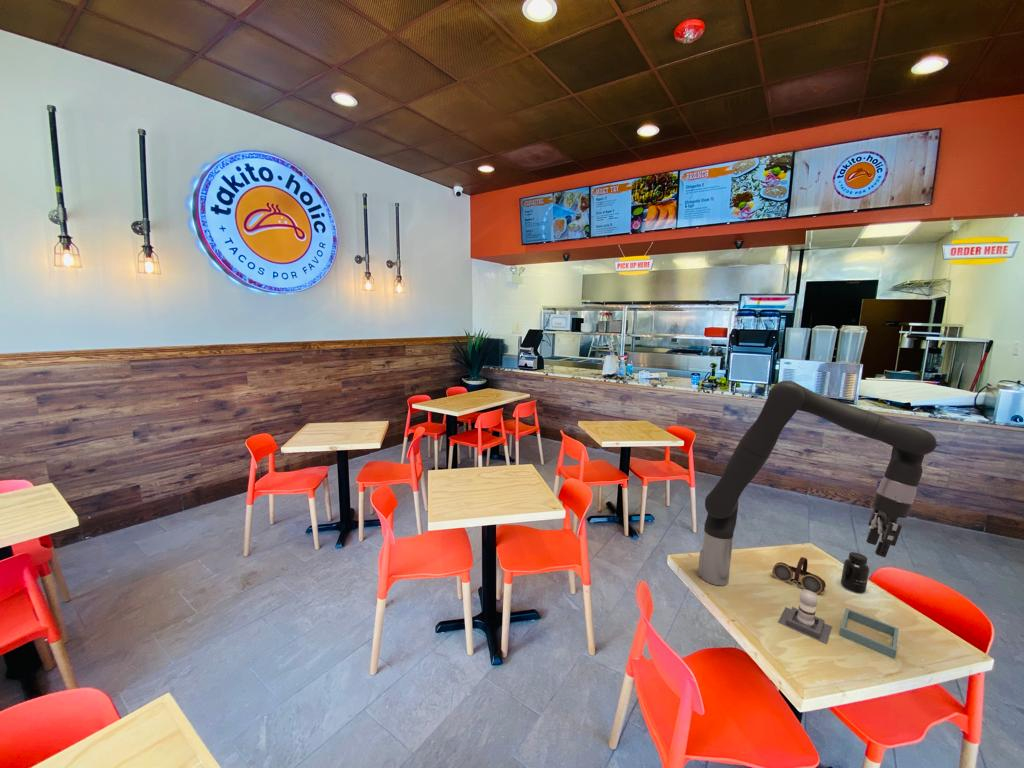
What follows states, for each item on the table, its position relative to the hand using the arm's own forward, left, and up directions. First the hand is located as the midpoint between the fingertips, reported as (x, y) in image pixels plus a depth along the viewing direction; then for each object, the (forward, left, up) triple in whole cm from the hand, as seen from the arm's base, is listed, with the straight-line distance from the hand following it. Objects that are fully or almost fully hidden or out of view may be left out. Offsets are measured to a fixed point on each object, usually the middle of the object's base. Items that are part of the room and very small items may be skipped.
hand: (875, 549), depth 118 cm
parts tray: (+1, 0, -27) cm, 27 cm away
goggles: (-19, +18, -28) cm, 38 cm away
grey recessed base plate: (-13, -8, -27) cm, 31 cm away
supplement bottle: (-5, +28, -27) cm, 39 cm away
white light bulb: (-13, -8, -26) cm, 30 cm away
